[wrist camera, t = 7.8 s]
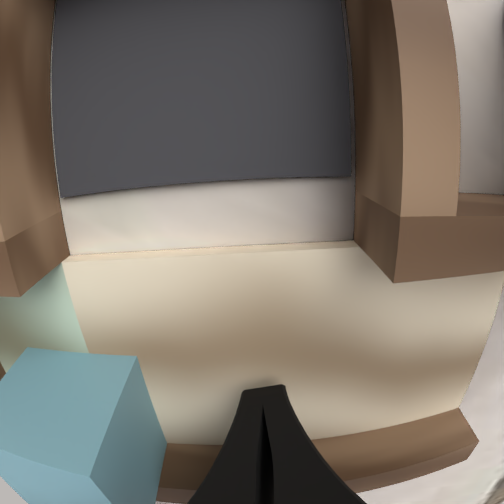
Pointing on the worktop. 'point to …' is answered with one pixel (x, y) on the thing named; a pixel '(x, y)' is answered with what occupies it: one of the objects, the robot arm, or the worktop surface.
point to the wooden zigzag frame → (279, 273)
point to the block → (79, 429)
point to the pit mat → (198, 92)
